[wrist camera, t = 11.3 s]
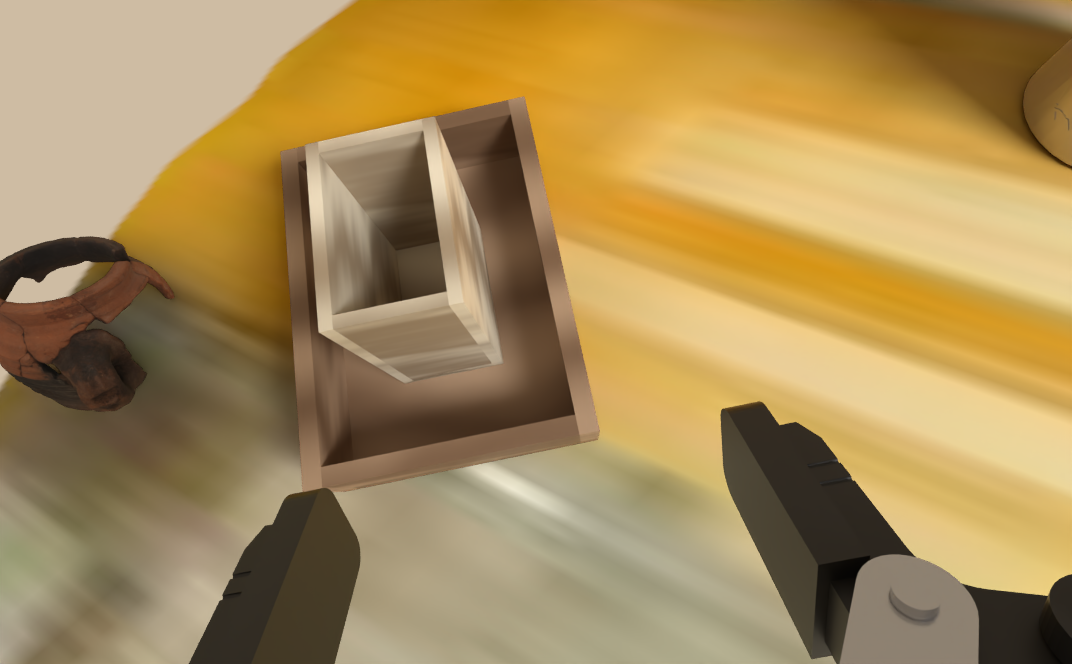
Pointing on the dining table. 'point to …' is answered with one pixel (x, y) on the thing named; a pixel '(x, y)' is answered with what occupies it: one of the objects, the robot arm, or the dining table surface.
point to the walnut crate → (462, 398)
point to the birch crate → (399, 253)
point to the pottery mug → (73, 325)
